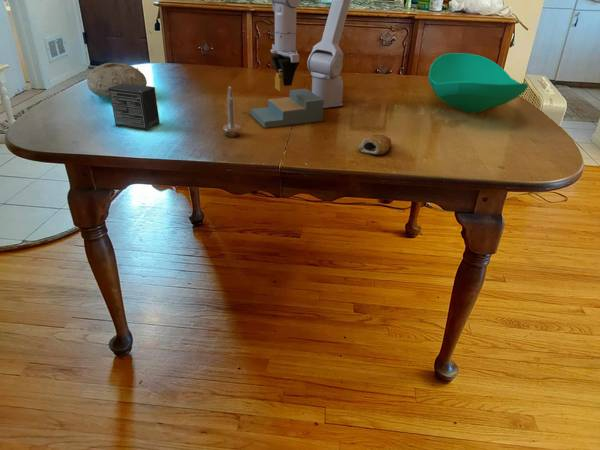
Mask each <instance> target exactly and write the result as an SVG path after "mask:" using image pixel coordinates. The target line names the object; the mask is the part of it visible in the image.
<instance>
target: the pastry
mask: <svg viewBox="0 0 600 450" xmlns="http://www.w3.org/2000/svg"><path fill="white" fill-rule="evenodd" d="M391 145H392V139H391V138H389V137H388V136H386V135H383V134H369V135H367V136H364V137H363V139H362V140H361V142H360V144H359V145H358V149H359V150H360V153H364V154H372V155H375V156H381V155H384V154H386V153H388V151H389V149H390V147H391Z"/></svg>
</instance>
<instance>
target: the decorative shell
mask: <svg viewBox="0 0 600 450" xmlns="http://www.w3.org/2000/svg"><path fill="white" fill-rule="evenodd" d="M122 83H126V84H134V85H142V86H147V85H148V84H147V83H148V82H147V77H146V76H145V74H144V73H143V72H142V71H140V69H139V68H138V67H137V68H136V67H134V66H133V65H130V64H127V63H124V62H122V63H120V62H113V61H111V62H106V63H103V64H100V65H98V66H95V67H94V68H93V69H91V70H89V73H88V75H87V77H86V85H87V88H88V90H89V91H90V92H91V93H92V94H94V95H96V96H97V97H100V98H103V99H111V97H110V92H109V89H108V88H110V87H113V86H116V85H119V84H122Z"/></svg>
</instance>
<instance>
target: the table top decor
mask: <svg viewBox="0 0 600 450" xmlns="http://www.w3.org/2000/svg"><path fill="white" fill-rule="evenodd" d="M428 82H429V83H428V84H429V85H430V87H431V88H432V91H433V93H434V94H435V95H436V96H437V97H438V99H439V100H440V101H441V102H443V103H445V104H447V105H448V106H449V107H452V108H454V109H456V110H458V111H460V112H465V113H477V114H478V113H482V112H484V111H486V110H489V109H493V108H497V107H499V106H503V105H506V104H508V103H509V102H511V101H513V100H515V99H517V98H518V97H520V96H521V95H522V94H523V93H525V91H526V90H527V88H528V87H529V84H528V83H524V82H521V83H520V82H519V81H517V80H515V79H514V78H512V77H511V76H510V75H509V74H508V73H507V71H506V70H505V69H504V68H503V67H501V66H500V65H499V64H498V63H496V62H495V61H493V60H491V59H489V58H487V57H485V56H482V55H478V54H473V53H467V52H466V53H463V52H450V53H443V54H441V55H440V56H438V57H437V58H436V59H434V61H433V62H432V63H431V65H430V66H429V72H428Z"/></svg>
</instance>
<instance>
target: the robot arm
mask: <svg viewBox="0 0 600 450" xmlns="http://www.w3.org/2000/svg"><path fill="white" fill-rule="evenodd" d="M270 2H271V4H272V11H273V13H274V43H273V44H271V49H270V53H271V54H273V55H270V58H271V60H272V62H273V65H274V69H275V74H276V73H279V69H281V70H282V71H280V72H282V76H283V83H284V86H290V85H292V81H293V77H294V78H295V73H296V71H297V68H298V66H299V65H300V62H301V61H300V54H298V51H297V48H296V47H297V45H296V44H297V8H298V7H299V5H300V4H301V2H302V0H270ZM351 2H352V0H332V1H331V5H330V8H329V10H328V15H327V19H326V22H325V26H324V30H323V34H322V37H321V40H320V41H319V42H318V43H316V44H314V45H313V47H312V50H311V52H310V54H309V56H308V58H307V61H306V62H307V63H306V66H307V70H308V71H309V72H310V76H312V79H311V80H312V81H311V92H312V93H314V94H315V95H317V96H318V97H320V98H321V99H323V100H324V101H323V109H328V108H335V107H343V106H344V103H343V97H344V96H343V95H344V80H343V77H342V76H341V75H340V74H341V72H342V69H343V59H344V55H345V54H344V52H343V50H342V49H341V48H340V46H339V45H340V40H341V37H342V33H343V30H344V27H345V24H346V19H347V17H348V16H347V15H348V12H349V9H350V6H351Z"/></svg>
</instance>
